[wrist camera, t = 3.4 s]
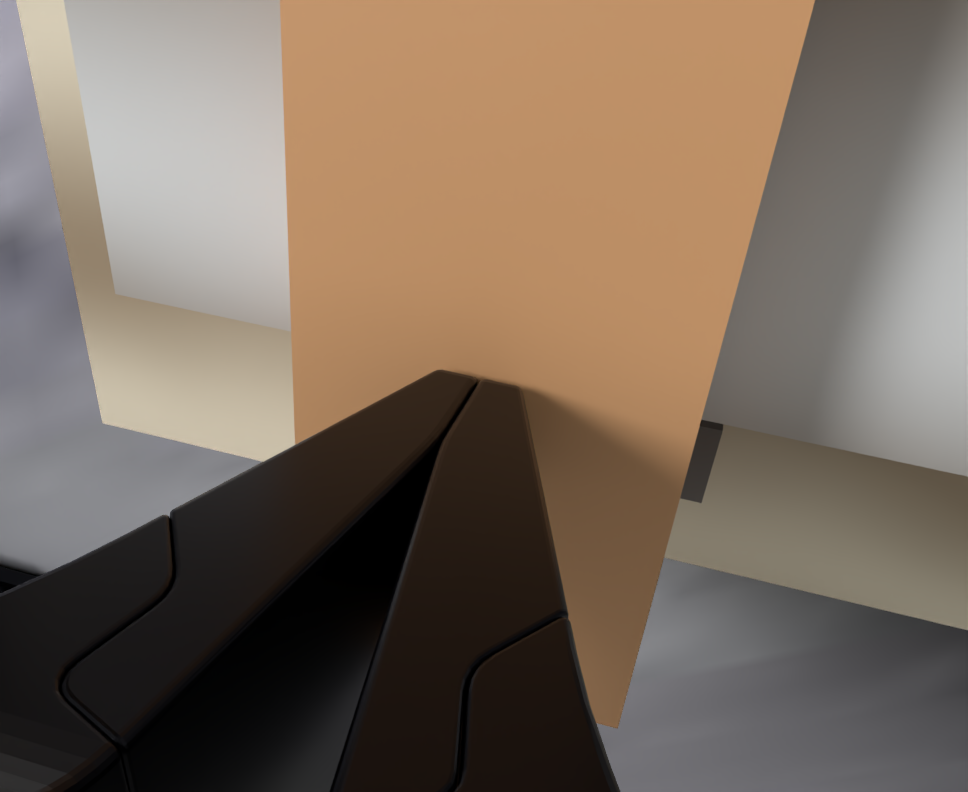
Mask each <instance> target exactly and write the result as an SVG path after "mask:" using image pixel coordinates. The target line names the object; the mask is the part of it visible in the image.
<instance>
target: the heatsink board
mask: <svg viewBox="0 0 968 792" xmlns="http://www.w3.org/2000/svg"><path fill="white" fill-rule="evenodd" d="M16 2H17V6H18V11H19V16H20V21H21V26H22V31H23V36H24V41H25V46H26V51H27V55H28V60H29V65H30V70H31V75H32V80H33V85H34V90H35V95H36V99H37V104H38V109H39V114H40V119H41V124H42V129H43V134H44V139H45V143H46V148H47V153H48V158H49V163H50V168H51V173H52V178H53V183H54V188H55V192H56V197H57V202H58V207H59V212H60V217H61V222H62V227H63V232H64V236H65V241H66V246H67V251H68V256H69V261H70V266H71V271H72V276H73V280H74V285H75V290H76V295H77V300H78V305H79V310H80V315H81V320H82V325H83V329H84V334H85V339H86V344H87V349H88V354H89V359H90V364H91V369H92V373H93V378H94V383H95V388H96V393H97V398H98V403H99V408H100V413H101V418H102V422H103V423H104V424H108V425H112V426H116V427H121V428H125V429H129V430H133V431H137V432H141V433H146V434H150V435H154V436H158V437H162V438H167V439H171V440H175V441H179V442H183V443H187V444H192V445H196V446H200V447H204V448H208V449H212V450H217V451H221V452H225V453H229V454H233V455H238V456H242V457H246V458H250V459H254V460H258V461H263V462H264V461H266V460H267V459H269V458H271V457H273V456H275V455H277V454H279V453H281V452H283V451H284V450H286V449H288V448H290V447H292V446H294V445H295V431H294V402H293V372H292V343H291V314H290V284H289V255H288V226H287V196H286V167H285V137H284V108H283V79H282V49H281V20H280V0H16ZM664 558H668V559H672V560H676V561H680V562H685V563H689V564H693V565H697V566H701V567H705V568H710V569H714V570H718V571H722V572H726V573H731V574H735V575H739V576H743V577H747V578H751V579H756V580H760V581H764V582H768V583H772V584H777V585H781V586H785V587H789V588H793V589H797V590H802V591H806V592H810V593H814V594H818V595H822V596H827V597H831V598H835V599H839V600H843V601H848V602H852V603H856V604H860V605H864V606H868V607H873V608H877V609H881V610H885V611H889V612H893V613H898V614H902V615H906V616H910V617H914V618H919V619H923V620H927V621H931V622H935V623H939V624H944V625H948V626H952V627H956V628H960V629H965V630H968V0H815V3H814V6H813V10H812V14H811V18H810V21H809V25H808V29H807V32H806V36H805V40H804V43H803V47H802V51H801V54H800V58H799V62H798V65H797V69H796V73H795V76H794V80H793V84H792V88H791V91H790V95H789V99H788V102H787V106H786V110H785V113H784V117H783V121H782V124H781V128H780V132H779V135H778V139H777V143H776V146H775V150H774V154H773V158H772V161H771V165H770V169H769V172H768V176H767V180H766V183H765V187H764V191H763V194H762V198H761V202H760V205H759V209H758V213H757V217H756V220H755V224H754V228H753V231H752V235H751V239H750V242H749V246H748V250H747V253H746V257H745V261H744V264H743V268H742V272H741V275H740V279H739V283H738V287H737V290H736V294H735V298H734V301H733V305H732V309H731V312H730V316H729V320H728V323H727V327H726V331H725V334H724V338H723V342H722V345H721V349H720V353H719V357H718V360H717V364H716V368H715V371H714V375H713V379H712V382H711V386H710V390H709V393H708V397H707V401H706V404H705V408H704V412H703V416H702V419H701V423H700V427H699V430H698V434H697V438H696V441H695V445H694V449H693V452H692V456H691V460H690V463H689V467H688V471H687V474H686V478H685V482H684V486H683V489H682V493H681V497H680V500H679V504H678V508H677V511H676V515H675V519H674V522H673V526H672V530H671V533H670V537H669V541H668V544H667V548H666V552H665V556H664Z"/></svg>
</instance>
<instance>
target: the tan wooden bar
mask: <svg viewBox="0 0 968 792" xmlns="http://www.w3.org/2000/svg"><path fill="white" fill-rule="evenodd" d="M814 3H815V0H280V20H281V49H282V79H283V108H284V137H285V167H286V196H287V226H288V255H289V284H290V314H291V343H292V372H293V402H294V431H295V445H296V444H298V443H299V442H301V441H303V440H305V439H307V438H309V437H311V436H313V435H315V434H316V433H318V432H320V431H322V430H324V429H326V428H328V427H330V426H331V425H333V424H335V423H337V422H339V421H341V420H343V419H345V418H347V417H348V416H350V415H352V414H354V413H356V412H358V411H360V410H362V409H363V408H365V407H367V406H369V405H371V404H373V403H375V402H377V401H379V400H380V399H382V398H384V397H386V396H388V395H390V394H392V393H394V392H395V391H397V390H399V389H401V388H403V387H405V386H407V385H409V384H411V383H412V382H414V381H416V380H418V379H420V378H422V377H424V376H426V375H427V374H429V373H431V372H433V371H436V370H440V369H441V370H447V371H451V372H456V373H460V374H465V375H470V376H473V377H475V378H476V379H477V381H478V383H479V382H480V381H481V380H484V379H488V380H492V381H497V382H502V383H507V384H511V385H516V386H518V387H520V388H521V390H522V392H523V395H524V400H525V405H526V410H527V414H528V419H529V424H530V429H531V434H532V439H533V444H534V449H535V453H536V458H537V463H538V468H539V473H540V478H541V483H542V487H543V492H544V497H545V502H546V507H547V512H548V517H549V522H550V526H551V531H552V536H553V541H554V546H555V551H556V556H557V561H558V565H559V570H560V575H561V580H562V585H563V590H564V595H565V599H566V604H567V609H568V615H569V616H568V619H569V621H570V622H571V626H572V631H573V636H574V641H575V646H576V650H577V655H578V659H579V663H580V667H581V671H582V675H583V679H584V683H585V687H586V691H587V695H588V699H589V703H590V706H591V709H592V712H593V715H594V718H595V721H596V723H599V724H602V725H606V726H610V727H613V728H617V729H618V725H619V721H620V718H621V714H622V710H623V707H624V703H625V699H626V696H627V692H628V688H629V685H630V681H631V677H632V673H633V670H634V666H635V662H636V659H637V655H638V651H639V648H640V644H641V640H642V637H643V633H644V629H645V626H646V622H647V618H648V615H649V611H650V607H651V603H652V600H653V596H654V592H655V589H656V585H657V581H658V578H659V574H660V570H661V567H662V563H663V559H664V556H665V552H666V548H667V544H668V541H669V537H670V533H671V530H672V526H673V522H674V519H675V515H676V511H677V508H678V504H679V500H680V497H681V493H682V489H683V486H684V482H685V478H686V474H687V471H688V467H689V463H690V460H691V456H692V452H693V449H694V445H695V441H696V438H697V434H698V430H699V427H700V423H701V419H702V416H703V412H704V408H705V404H706V401H707V397H708V393H709V390H710V386H711V382H712V379H713V375H714V371H715V368H716V364H717V360H718V357H719V353H720V349H721V345H722V342H723V338H724V334H725V331H726V327H727V323H728V320H729V316H730V312H731V309H732V305H733V301H734V298H735V294H736V290H737V287H738V283H739V279H740V275H741V272H742V268H743V264H744V261H745V257H746V253H747V250H748V246H749V242H750V239H751V235H752V231H753V228H754V224H755V220H756V217H757V213H758V209H759V205H760V202H761V198H762V194H763V191H764V187H765V183H766V180H767V176H768V172H769V169H770V165H771V161H772V158H773V154H774V150H775V146H776V143H777V139H778V135H779V132H780V128H781V124H782V121H783V117H784V113H785V110H786V106H787V102H788V99H789V95H790V91H791V88H792V84H793V80H794V76H795V73H796V69H797V65H798V62H799V58H800V54H801V51H802V47H803V43H804V40H805V36H806V32H807V29H808V25H809V21H810V18H811V14H812V10H813V6H814Z"/></svg>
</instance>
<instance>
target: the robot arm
mask: <svg viewBox="0 0 968 792" xmlns="http://www.w3.org/2000/svg"><path fill="white" fill-rule="evenodd" d="M568 616H569V615H568V609H567V604H566V599H565V595H564V590H563V585H562V580H561V575H560V570H559V565H558V561H557V556H556V551H555V546H554V541H553V536H552V531H551V526H550V522H549V517H548V512H547V507H546V502H545V497H544V492H543V487H542V483H541V478H540V473H539V468H538V463H537V458H536V453H535V449H534V444H533V439H532V434H531V429H530V424H529V419H528V414H527V410H526V405H525V400H524V395H523V392H522V390H521V388H520V387H518V386H516V385H511V384H507V383H502V382H497V381H492V380H488V379H484V380H481V381H480V382H479V383H478V381H477V379H476V378H475V377H473V376H470V375H465V374H460V373H456V372H451V371H447V370H441V369H440V370H436V371H433V372H431V373H429V374H427V375H426V376H424V377H422V378H420V379H418V380H416V381H414V382H412V383H411V384H409V385H407V386H405V387H403V388H401V389H399V390H397V391H395V392H394V393H392V394H390V395H388V396H386V397H384V398H382V399H380V400H379V401H377V402H375V403H373V404H371V405H369V406H367V407H365V408H363V409H362V410H360V411H358V412H356V413H354V414H352V415H350V416H348V417H347V418H345V419H343V420H341V421H339V422H337V423H335V424H333V425H331V426H330V427H328V428H326V429H324V430H322V431H320V432H318V433H316V434H315V435H313V436H311V437H309V438H307V439H305V440H303V441H301V442H299V443H298V444H296V445H294V446H292V447H290V448H288V449H286V450H284V451H283V452H281V453H279V454H277V455H275V456H273V457H271V458H269V459H267V460H266V461H264V462H262V463H260V464H258V465H256V466H254V467H252V468H251V469H249V470H247V471H245V472H243V473H241V474H239V475H237V476H235V477H234V478H232V479H230V480H228V481H226V482H224V483H222V484H220V485H219V486H217V487H215V488H213V489H211V490H209V491H207V492H205V493H203V494H202V495H200V496H198V497H196V498H194V499H192V500H190V501H188V502H187V503H185V504H183V505H181V506H179V507H177V508H175V509H173V510H172V511H171V512H170V518H169V516H167V515H161V516H160V517H158V518H156V519H154V520H152V521H150V522H148V523H146V524H144V525H143V526H141V527H139V528H137V529H135V530H133V531H131V532H129V533H127V534H126V535H124V536H122V537H120V538H118V539H116V540H114V541H112V542H110V543H108V544H106V545H104V546H102V547H100V548H98V549H96V550H94V551H92V552H90V553H88V554H86V555H84V556H82V557H80V558H78V559H76V560H74V561H72V562H69V563H67V564H65V565H63V566H61V567H58V568H56V569H54V570H52V571H50V572H47V573H45V574H43V575H41V576H38V577H37V576H33V575H29V574H26V573H22V572H18V571H15V570H11V569H7V568H4V567H0V792H620V790H619V787H618V784H617V782H616V779H615V776H614V774H613V771H612V768H611V766H610V763H609V760H608V757H607V754H606V751H605V748H604V745H603V742H602V739H601V736H600V733H599V730H598V727H597V724H596V721H595V718H594V715H593V712H592V709H591V706H590V703H589V699H588V695H587V691H586V687H585V683H584V679H583V675H582V671H581V667H580V663H579V659H578V655H577V650H576V646H575V641H574V636H573V631H572V626H571V622H570V621H569V619H568Z"/></svg>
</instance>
